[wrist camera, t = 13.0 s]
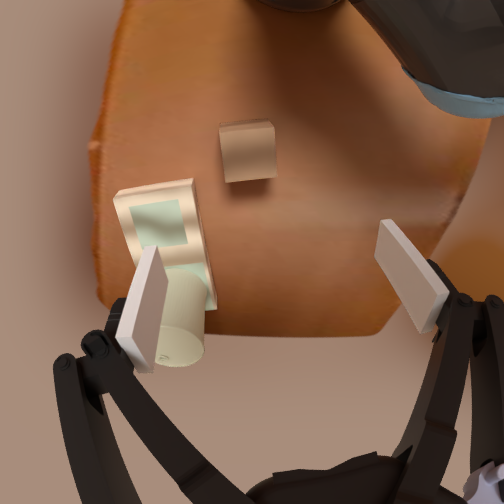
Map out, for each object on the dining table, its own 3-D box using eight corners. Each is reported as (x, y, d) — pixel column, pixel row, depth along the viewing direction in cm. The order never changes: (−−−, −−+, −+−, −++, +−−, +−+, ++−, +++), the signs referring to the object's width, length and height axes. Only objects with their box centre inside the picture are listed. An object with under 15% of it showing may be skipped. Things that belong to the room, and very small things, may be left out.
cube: (220, 123, 35) (219, 132, 30) (267, 118, 35) (274, 127, 30) (225, 166, 39) (225, 182, 34) (270, 161, 39) (277, 177, 34)
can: (142, 297, 47) (128, 356, 37) (162, 258, 43) (148, 319, 33) (192, 317, 50) (188, 376, 40) (217, 282, 46) (217, 344, 36)
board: (119, 190, 39) (112, 199, 36) (193, 177, 39) (191, 186, 37) (157, 302, 52) (155, 314, 49) (217, 297, 52) (217, 309, 49)
